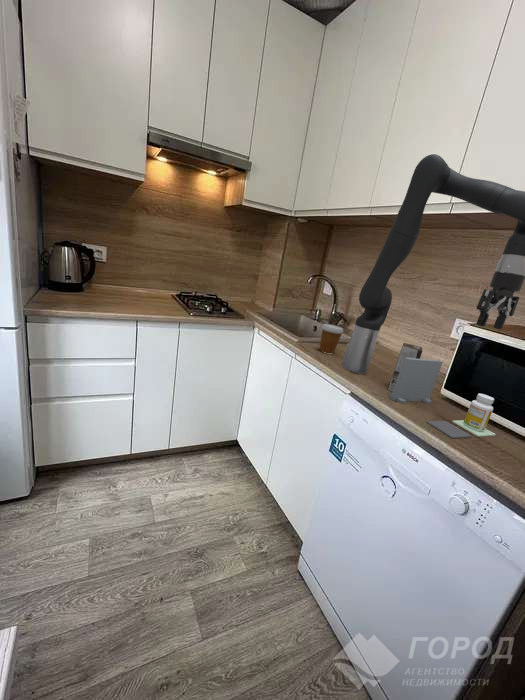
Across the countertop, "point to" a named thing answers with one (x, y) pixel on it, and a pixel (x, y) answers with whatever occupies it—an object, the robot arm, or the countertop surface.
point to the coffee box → (405, 352)
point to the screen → (416, 380)
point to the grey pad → (449, 429)
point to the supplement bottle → (479, 412)
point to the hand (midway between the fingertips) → (488, 327)
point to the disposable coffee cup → (330, 337)
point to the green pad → (477, 433)
